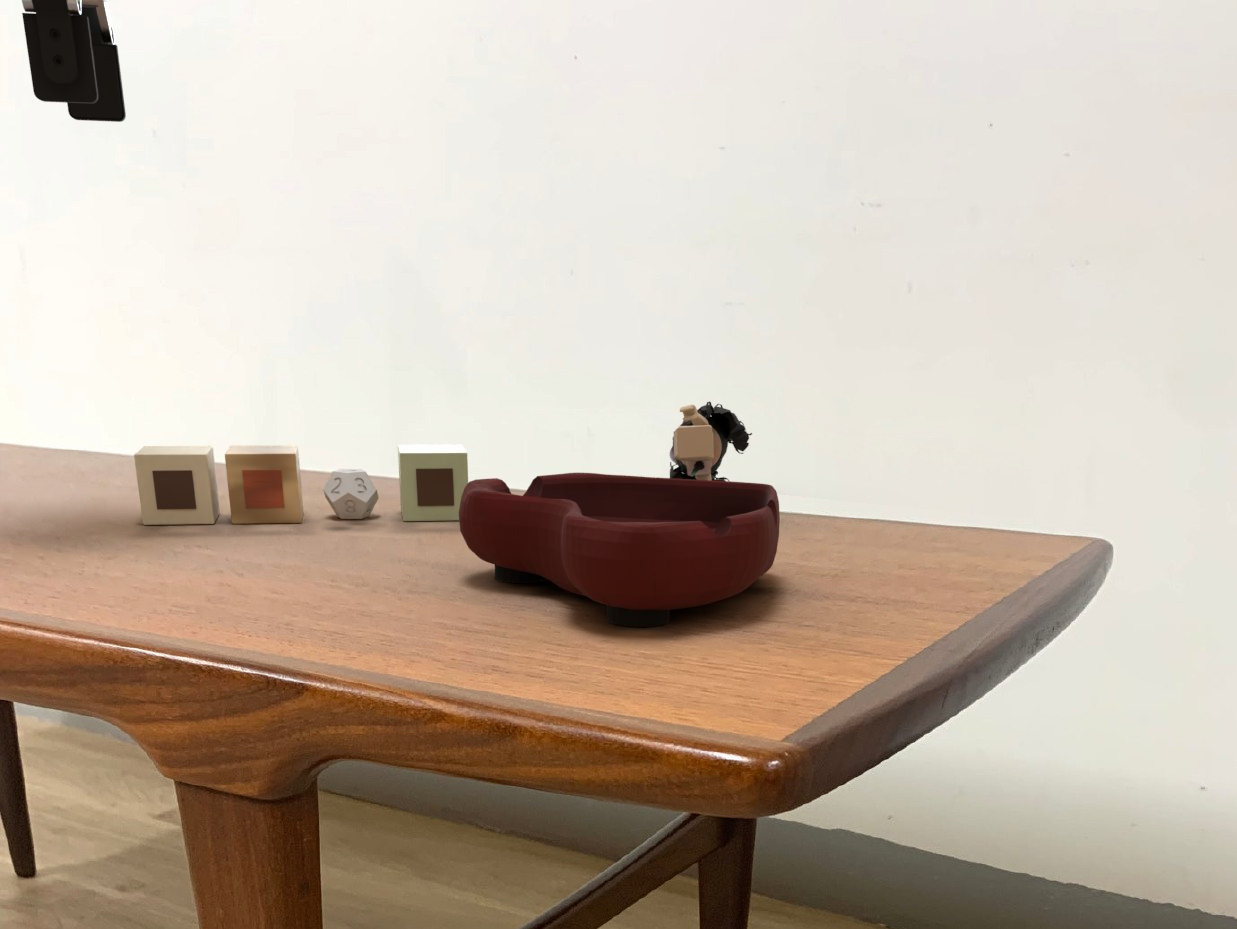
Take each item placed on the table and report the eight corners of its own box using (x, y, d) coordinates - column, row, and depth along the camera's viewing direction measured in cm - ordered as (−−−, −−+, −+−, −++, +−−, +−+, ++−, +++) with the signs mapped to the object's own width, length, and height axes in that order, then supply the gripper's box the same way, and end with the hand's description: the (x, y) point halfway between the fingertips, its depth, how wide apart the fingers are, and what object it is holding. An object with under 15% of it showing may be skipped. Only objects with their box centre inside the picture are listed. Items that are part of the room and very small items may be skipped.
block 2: (231, 524, 87) (224, 453, 85) (237, 513, 91) (230, 445, 89) (301, 523, 87) (295, 453, 86) (303, 511, 91) (298, 445, 90)
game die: (319, 513, 91) (316, 468, 90) (373, 511, 92) (370, 466, 91) (330, 522, 88) (327, 475, 87) (386, 519, 89) (383, 473, 88)
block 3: (403, 521, 89) (399, 453, 87) (401, 510, 93) (397, 444, 91) (469, 520, 89) (467, 452, 88) (464, 509, 93) (462, 444, 92)
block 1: (142, 525, 85) (133, 454, 84) (152, 514, 89) (143, 445, 88) (214, 524, 86) (206, 454, 85) (220, 513, 90) (212, 445, 89)
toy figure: (664, 522, 91) (672, 491, 105) (756, 517, 91) (752, 487, 104) (658, 412, 88) (667, 395, 102) (753, 406, 88) (749, 390, 102)
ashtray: (879, 603, 69) (888, 504, 67) (615, 644, 60) (616, 531, 58) (677, 546, 82) (679, 462, 80) (437, 573, 73) (433, 480, 71)
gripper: (-4, -216, 76) (45, 124, 83) (-94, -339, 61) (-25, 90, 68) (133, -204, 78) (170, 129, 85) (79, -322, 62) (130, 97, 69)
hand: (83, 111), depth 76 cm, fingers open, 9 cm apart
